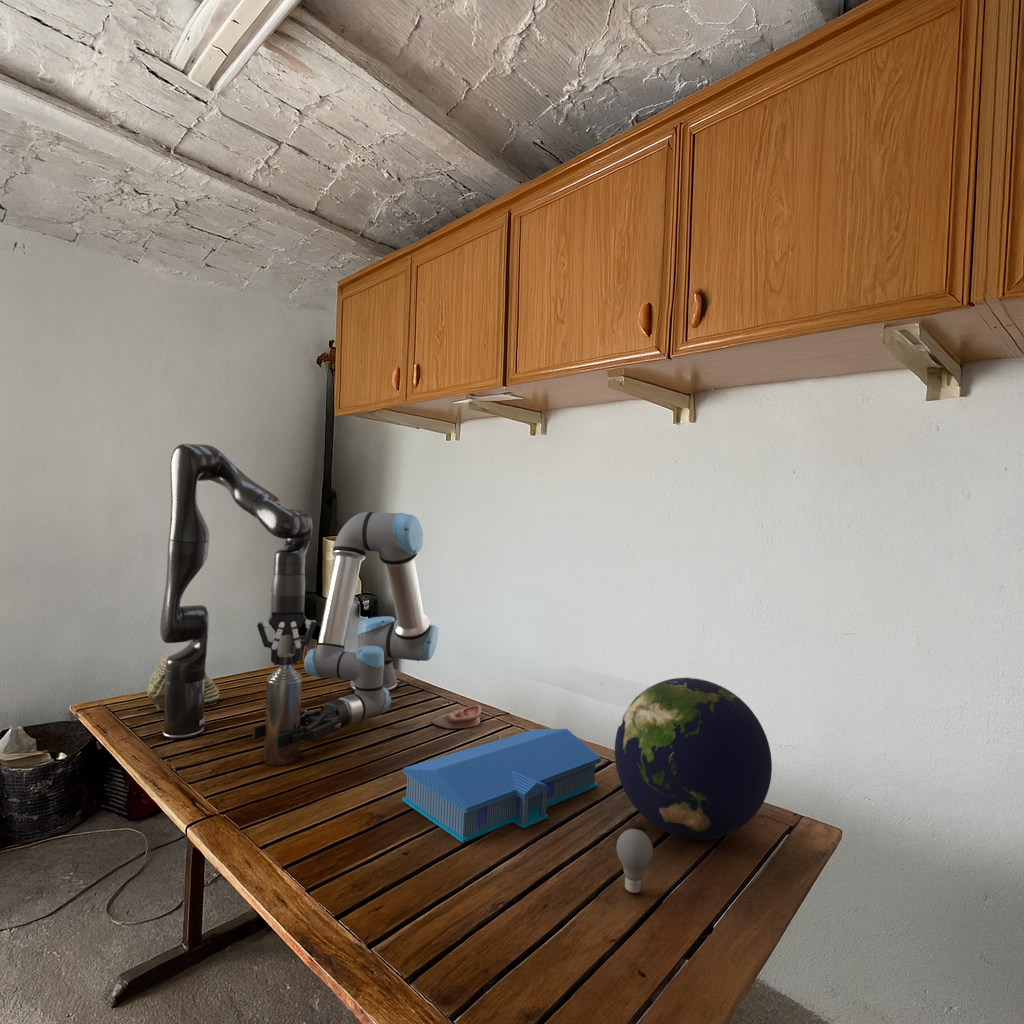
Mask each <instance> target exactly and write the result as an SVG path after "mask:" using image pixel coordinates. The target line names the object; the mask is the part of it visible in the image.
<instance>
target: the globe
mask: <svg viewBox="0 0 1024 1024" xmlns="http://www.w3.org/2000/svg"><path fill="white" fill-rule="evenodd" d="M767 737H768V736H767V734H766V732H765V730H764V728H763V726H762V724H761V722H760V721H759V718H758V717H757V716H756V715H755V713H754V712H753V710H752V709H751V708H750V706H749V705H748V704H747V703H746V702H745V701H743V699H741V698H740V697H739V696H738V695H736V694H735V693H734V692H733V691H731V690H729V689H727V688H726V687H724V686H722V685H720V684H718V683H716V682H712V681H710V680H706V679H701V678H698V677H690V676H689V677H675V678H669V679H666V680H663V681H660V682H657V683H655V684H653V685H651V686H649V687H647V688H646V689H645V690H643V691H642V692H640V693H639V694H638V695H637V696H636V697H635V698H634V699H632V701H631V702H630V704H628V706H627V708H626V710H624V713H623V714H622V716H621V719H620V720H619V723H618V726H617V730H616V734H615V741H614V762H615V768H616V772H617V776H618V779H619V782H620V784H621V786H622V788H623V791H624V793H625V795H626V796H627V798H628V799H629V801H630V802H631V805H633V807H634V808H635V809H636V811H638V812H639V813H640V815H642V817H644V818H645V819H646V820H647V821H648V822H649V823H651V824H652V825H654V826H655V827H656V828H658V829H660V830H662V831H664V832H666V833H668V834H670V835H673V836H674V837H679V838H682V839H687V840H695V841H709V840H716V839H720V838H722V837H726V836H728V835H731V834H733V833H735V832H737V831H739V830H740V829H742V828H743V827H744V826H745V825H747V824H748V823H749V822H750V821H751V820H752V819H753V818H754V816H756V815H757V813H758V812H759V811H760V809H761V807H762V806H763V804H764V802H765V800H766V798H767V795H768V793H769V790H770V786H771V781H772V774H773V762H772V760H773V759H772V752H771V748H770V744H769V740H768V738H767Z"/></svg>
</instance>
